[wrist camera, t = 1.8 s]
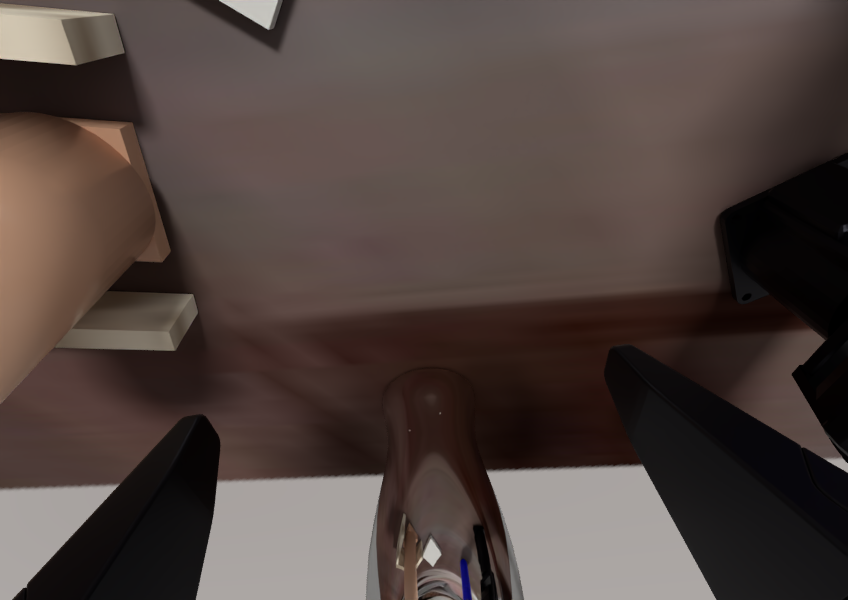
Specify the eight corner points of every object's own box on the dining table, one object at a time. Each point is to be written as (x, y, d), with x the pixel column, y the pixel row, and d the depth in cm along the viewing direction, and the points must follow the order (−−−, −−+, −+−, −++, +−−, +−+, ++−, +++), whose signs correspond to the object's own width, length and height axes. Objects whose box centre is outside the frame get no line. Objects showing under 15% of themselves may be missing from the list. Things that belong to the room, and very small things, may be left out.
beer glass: (500, 404, 29) (575, 704, 17) (417, 444, 31) (431, 736, 19) (442, 344, 25) (484, 670, 13) (353, 394, 28) (320, 714, 15)
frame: (113, 13, 15) (60, 19, 13) (198, 312, 23) (175, 350, 21) (-214, -18, 14) (-339, -18, 12) (-9, 305, 22) (-59, 344, 20)
